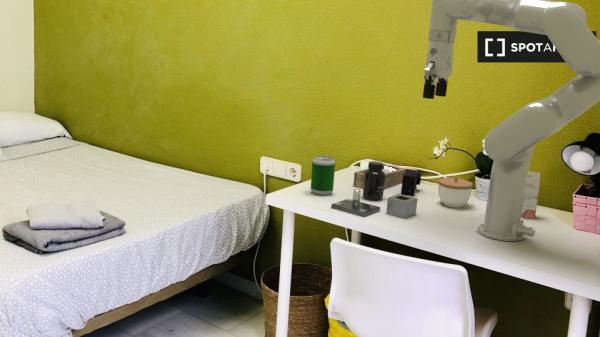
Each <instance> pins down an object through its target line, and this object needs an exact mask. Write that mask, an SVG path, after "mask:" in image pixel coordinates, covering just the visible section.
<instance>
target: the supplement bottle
mask: <svg viewBox="0 0 600 337" xmlns="http://www.w3.org/2000/svg"><path fill="white" fill-rule="evenodd" d="M383 164H384V163H383V162H380V161H373V160H372V161H368V166H367V169H368V168H369V169H368V170H366V171H365V174H364V184H363V188H362V197H363V199H365V200H367V201H372V202H373V201H375V202H377V201H382V200H383V199H384V194H385V189H384V184H385V173H384V172H383V171H382V169H383Z"/></svg>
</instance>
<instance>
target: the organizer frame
mask: <svg viewBox="0 0 600 337" xmlns="http://www.w3.org/2000/svg"><path fill="white" fill-rule="evenodd" d="M384 166H388V167H392V168H394V169H396V171H392V172H389V173H386V174H385V184H384V190H385V189H388V188H391V187H394V186H397V185H400V184H402V179H403V174H404V172H405V170H406V169H407V168H404V167H400V166H395V165H390V164H386V163H383V169H384ZM368 169H369V168H368V167H367V168H365V169H362V170H358V171H355V172H354V174H353V186H352V187H354V188H355V187H356V188H358V189H359V188H360V189H363V184H364V174H365V171H366V170H368Z"/></svg>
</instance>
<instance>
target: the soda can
mask: <svg viewBox="0 0 600 337" xmlns="http://www.w3.org/2000/svg"><path fill="white" fill-rule="evenodd" d="M311 165H312V166H311V176H310V178H311V179H310V191H311V192H312V193H313V194H314V195H317V196H329V195H331V193H333V192H334V185H335V184H334V182H335V170H336V161H335V160H334V158H333V157H331V156H326V155H317V156H315V157H314V158H313V159H312V164H311Z"/></svg>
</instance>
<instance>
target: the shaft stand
mask: <svg viewBox="0 0 600 337" xmlns="http://www.w3.org/2000/svg"><path fill="white" fill-rule="evenodd" d="M352 191H353V193H352V198H346V199H342V200H340V201H337V202H334V203H331V206H330V209H334V210H337V211H342V212H344V213H348V214H351V215H355V216H359V217H363V218H366V217H369V216H371V215H373V214H376V213H379V212H380V211H381V206H378V205H374V204H370V203H365V202H361V192H362V190H361V188H360V189H359V188H354V189H353V190H352Z"/></svg>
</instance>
